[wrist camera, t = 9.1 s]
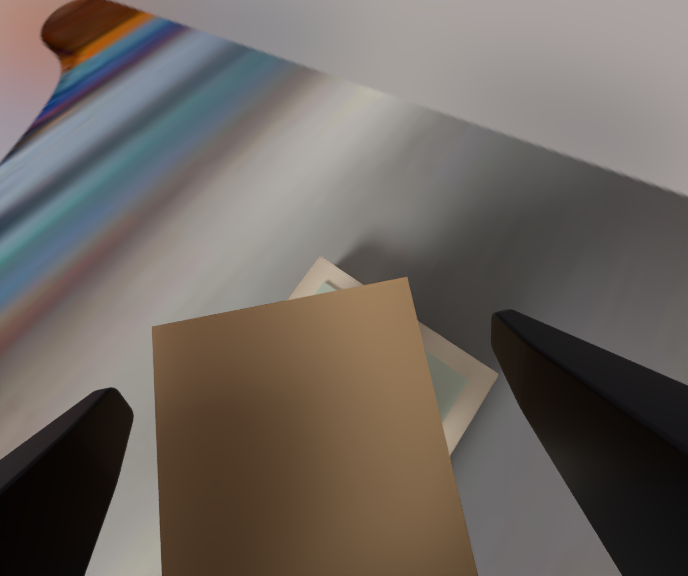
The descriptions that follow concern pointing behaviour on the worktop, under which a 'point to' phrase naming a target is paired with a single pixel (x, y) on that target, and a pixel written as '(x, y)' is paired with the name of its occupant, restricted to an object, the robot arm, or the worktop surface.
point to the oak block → (305, 442)
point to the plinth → (442, 356)
